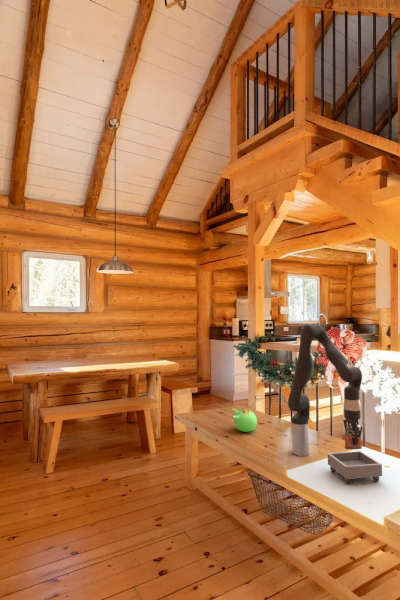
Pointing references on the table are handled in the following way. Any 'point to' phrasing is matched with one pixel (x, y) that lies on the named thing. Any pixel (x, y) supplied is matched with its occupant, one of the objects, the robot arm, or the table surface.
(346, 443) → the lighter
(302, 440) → the robot arm
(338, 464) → the cart
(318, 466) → the table surface
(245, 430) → the green apple
